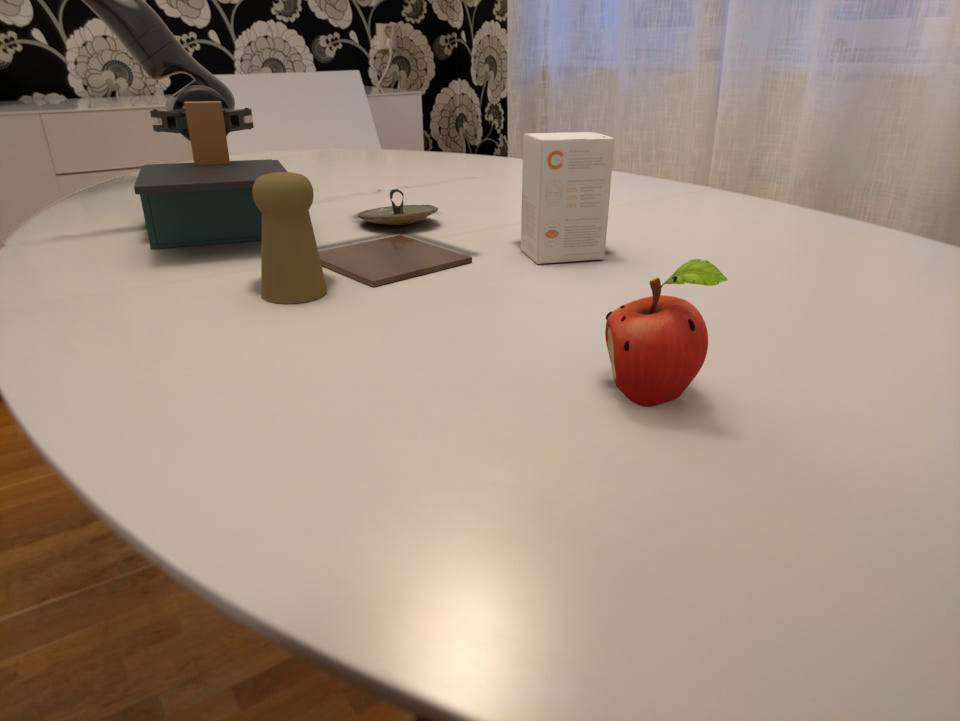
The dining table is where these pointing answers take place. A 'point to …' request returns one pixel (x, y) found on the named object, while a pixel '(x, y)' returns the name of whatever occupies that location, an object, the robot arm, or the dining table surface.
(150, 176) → the bin lid
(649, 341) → the apple
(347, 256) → the board
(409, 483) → the dining table surface
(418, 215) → the lid
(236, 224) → the bin
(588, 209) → the small box
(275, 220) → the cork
